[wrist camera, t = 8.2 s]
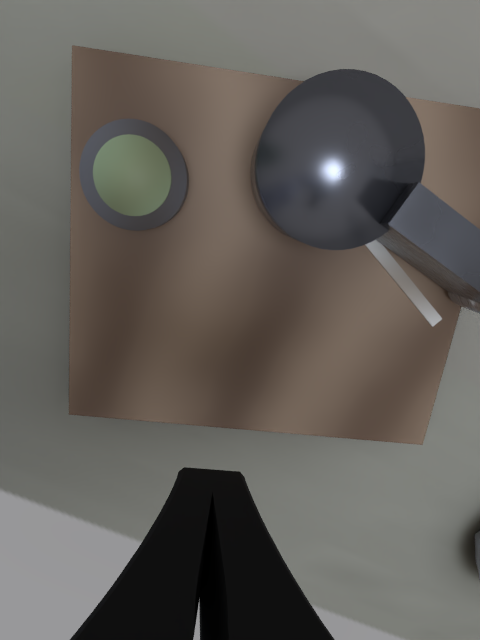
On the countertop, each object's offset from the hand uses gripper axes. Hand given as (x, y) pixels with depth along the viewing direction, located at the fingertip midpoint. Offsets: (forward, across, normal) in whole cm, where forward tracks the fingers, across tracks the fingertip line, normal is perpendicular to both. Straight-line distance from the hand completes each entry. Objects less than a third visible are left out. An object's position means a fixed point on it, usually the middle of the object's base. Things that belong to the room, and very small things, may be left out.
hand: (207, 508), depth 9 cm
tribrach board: (+9, -2, -4) cm, 10 cm away
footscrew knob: (+8, -6, -7) cm, 12 cm away
